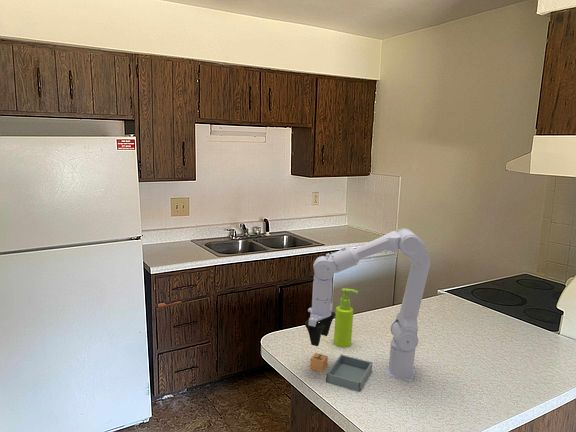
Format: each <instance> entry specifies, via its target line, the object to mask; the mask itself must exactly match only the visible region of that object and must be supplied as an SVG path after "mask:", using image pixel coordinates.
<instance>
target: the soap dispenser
mask: <svg viewBox="0 0 576 432" xmlns="http://www.w3.org/2000/svg"><path fill="white" fill-rule="evenodd" d="M341 292H342V293H343V294H342V296H341V297H340V300H339V305H338V306H336V307H335V313H336V315H335V317H334V319H335V320H334V335H333V345H334V346H336V347H338V348H344V349H345V348H349V347H351V346H352V337H353V335H352V334H353V319H354V308H353V307H351V298H349V293H353V294H356V295H357V294H358V293H359V290H356V289H353V288H344V287H343V288H341Z"/></svg>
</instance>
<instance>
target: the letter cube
mask: <svg viewBox="0 0 576 432" xmlns="http://www.w3.org/2000/svg"><path fill="white" fill-rule="evenodd" d="M328 357H329V356H328V355H326V354H321V353H319V352H315V353H314V354H313V355H312V356H311V357H310V365H309V369H310V370H314V371H316V372H321V373H323V372H324V371H325V370H326V368H327V367H328Z"/></svg>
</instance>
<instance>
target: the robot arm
mask: <svg viewBox="0 0 576 432" xmlns="http://www.w3.org/2000/svg"><path fill="white" fill-rule="evenodd" d="M384 251H389V252H392V253H397V254H398V253H399V251H400V252H401V254H403V255H404V256H405V257H407V259H408V260H409V261H410V263H411V264H410V268H409V270H408V271H409V272H408V277H407V280H406V284H405V289H404V292H403V293H404V294H403V298H402V302H401V305H400V306H401V307H400V310H399V312H398V313H397V314H396V317H395V319H394V321H393V322H391V325H390V332H391V333H390V334H392V340H391V341H390V348H389V349H390V350H389V359H388V360H389V362H388V366H387V369H386V370H385V373H384V375H386V376H389V377H391V378H396V379H400V380H403V381H408V382H413V379H414V377H415V374H416V372H417V368H418V367H417V366H416V365H415V358H416V357H415V356H416V348H417V347H418V344H419V337H418V331H419V327H418V326H419V325H418V316H419V312H420V308H421V303H422V299H423V296H424V291H425V287H426V284H427V280H428V274H429V271H430V267H431V264H432V263H431V258H430V255H429V252H428V250H427V248H426V243H425V242H424V241H423V240H422V239H421V238H420V237H419V236H418V235H416V234H415V233H414V231H413V230H411V229H409V228H407V227H405V228H404V227H402V228H399V229H397V230H392V231H390V232H388V233H386V234H385V235H382V236H380V237H378V238H376V239H374V240H372V241H369V242H367V243H365V244H362V245H361V246H358V247H356V248H354V247H352V246H348V247H346V246H345V245H344V246H342V247H340V250H338V251H334V252H332V253H329V252H328V253H326V254H325V256H324V255H322V256H318V257H317V258H316V259H315V260H314V261H313V264H312V266H313V267H312V268H313V272H314V273H313V274H314V275H313V282H312V297H311V298H312V299H311V307H309V308H307V312H308V313H310V317H309V318H308V319H307V320H305V323H304V327H305V328H306V330H307V331H308V336H309V340H310V344H311V346H314V347H319V345H320V341H321V337H322V336H324V337H327V336H329V332H330V328H331V326H332V323H333V320H334V319H335V316H336V311H335V312H334V311H333V303H332V300H333V299H332V297H333V277H334V275H335V274H337V273H340V272H342V271H345V270H347V269H350V268H353V267H355V266H358V264H359V261H360V260H361V259H364V258H367V257H370V256H373V255H377V254H378V253H381V252H384Z"/></svg>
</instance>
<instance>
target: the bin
mask: <svg viewBox="0 0 576 432" xmlns="http://www.w3.org/2000/svg"><path fill="white" fill-rule="evenodd" d="M372 372H373V362H371V361H367V360H363V359H360V358H356V357H352V356H349V355H344V354H340V355H339V356H338V358H337V359H336V360H335V362H334V363H333V365H332V366H331V367H330V369H329V370H328V371H327V372H326V375H325V382H326V383H327V384H331V385H335V386H338V387H341V388H345V389H347V390H352V391H356V392H361V390H362V389H363V387H364V385H365V383H366V382H367V379H368V378H369V376H370V374H371V373H372Z"/></svg>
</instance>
